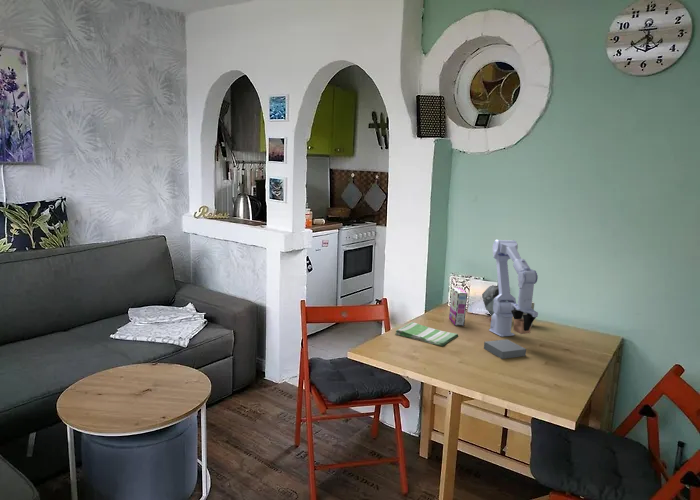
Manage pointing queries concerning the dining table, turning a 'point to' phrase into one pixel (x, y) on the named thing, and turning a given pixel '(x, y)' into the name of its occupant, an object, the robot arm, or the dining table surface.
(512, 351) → the slate block
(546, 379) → the dining table surface
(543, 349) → the dining table surface
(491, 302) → the gray rock
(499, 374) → the dining table surface
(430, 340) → the dish towel
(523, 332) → the terracotta cube
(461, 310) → the candy bar box
